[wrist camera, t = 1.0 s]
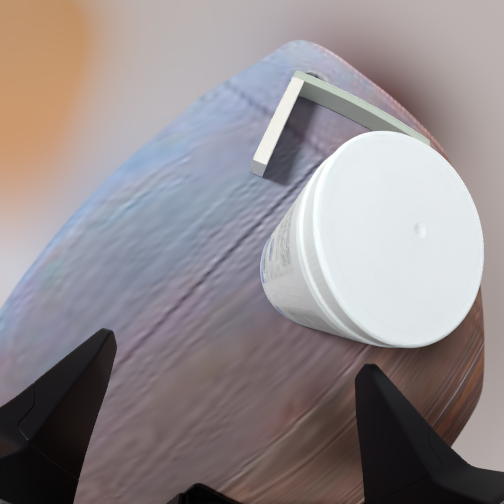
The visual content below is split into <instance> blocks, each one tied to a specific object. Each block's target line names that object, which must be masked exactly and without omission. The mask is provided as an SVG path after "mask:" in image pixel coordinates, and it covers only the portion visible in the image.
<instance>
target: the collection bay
mask: <svg viewBox="0 0 504 504" xmlns="http://www.w3.org/2000/svg"><path fill="white" fill-rule="evenodd" d="M298 96H301V97H304V98H306V99H308V100H311V101H313V102H315V103H317V104H320V105H322V106H324V107H326V108H329V109H331V110H333V111H335V112H337V113H339V114H341V115H343V116H345V117H347V118H349V119H351V120H353V121H355V122H357V123H359V124H361V125H363V126H365V127H367V128H369V129H370V130H372V131H392V132H397V133H402V134H405V135H408V136H411V137H413V138H415V139H417V140H420V141H421V142H423V143H425V144H426V145H428V146H430V140H428V139H427V138H425V137H424V136H422V135H421V134H419V133H418V132H416V131H415V130H413V129H412V128H410V127H409V126H407V125H405V124H404V123H402V122H401V121H399V120H397V119H396V118H394V117H392V116H391V115H389V114H387V113H385V112H384V111H382V110H380V109H378V108H377V107H375V106H373V105H371V104H369V103H367V102H366V101H364V100H362V99H360V98H358V97H356V96H354V95H352V94H350V93H348V92H346V91H344V90H342V89H340V88H337V87H335V86H333V85H331V84H329V83H326V82H324V81H322V80H320V79H317V78H315V77H313V76H310V75H308V74H305V73H303V72H300V71H298V70H296V72H295V74H294V76H293V78H292V80H291V82H290V84H289V86H288V88H287V90H286V92H285V94H284V96H283V98H282V100H281V102H280V104H279V106H278V108H277V110H276V112H275V114H274V116H273V118H272V120H271V122H270V124H269V126H268V128H267V130H266V133H265V135H264V137H263V139H262V141H261V143H260V145H259V147H258V149H257V151H256V154H255V156H254V158H253V160H252V165H251V169H250V172H251V173H253V174H256V175H258V176H261V177H262V176H263V174H264V172H265V169H266V167H267V165H268V163H269V160H270V158H271V156H272V154H273V151H274V149H275V147H276V144H277V142H278V140H279V138H280V135H281V133H282V131H283V129H284V127H285V124H286V122H287V120H288V118H289V115H290V113H291V111H292V109H293V107H294V104H295V102H296V100H297V98H298Z"/></svg>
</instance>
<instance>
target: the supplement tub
mask: <svg viewBox="0 0 504 504" xmlns="http://www.w3.org/2000/svg"><path fill="white" fill-rule="evenodd" d="M483 263H484V244H483V234H482V229H481V224H480V220H479V216H478V213H477V210H476V207H475V205H474V202H473V200H472V197H471V195H470V193H469V191H468V189H467V188H466V186H465V184H464V182H463V181H462V179H461V178H460V176H459V175H458V174H457V172H456V171H455V170H454V168H453V167H452V166H451V165H450V164H449V163H448V162H447V161H446V160H445V159H444V158H443V157H442V156H441V155H440V154H439V153H438V152H436V151H435V150H434V149H432V148H431V147H430V146H428V145H426V144H425V143H423V142H421V141H420V140H417V139H415V138H413V137H411V136H408V135H405V134H402V133H397V132H392V131H374V132H368V133H364V134H361V135H359V136H356V137H354V138H352V139H350V140H349V141H347V142H346V143H344V144H343V145H342V146H341V147H339V148H338V149H337V150H336V152H335V153H334V154H333V155H331V156H330V157H329V158H327V159H326V160H325V161H324V162H323V163H322V164H321V165H320V166H319V168H318V169H317V170H316V172H315V173H314V175H313V176H312V178H311V179H310V180H309V182H308V183H307V184H306V186H305V187H304V189H303V190H302V192H301V193H300V194H299V196H298V197H297V199H296V200H295V202H294V203H293V204H292V206H291V207H290V209H289V210H288V212H287V213H286V215H285V216H284V218H283V219H282V220H281V222H280V223H279V225H278V226H277V228H276V229H275V231H274V232H273V233H272V235H271V236H270V238H269V239H268V241H267V243H266V245H265V247H264V250H263V253H262V258H261V265H260V274H261V280H262V285H263V288H264V291H265V293H266V295H267V297H268V299H269V301H270V302H271V303H272V305H273V306H274V307H275V308H276V309H277V310H278V311H279V312H280V313H281V314H282V315H283V316H285V317H286V318H288V319H289V320H291V321H293V322H295V323H297V324H300V325H303V326H306V327H309V328H313V329H316V330H320V331H323V332H327V333H330V334H334V335H337V336H340V337H344V338H347V339H351V340H355V341H358V342H362V343H367V344H371V345H375V346H380V347H387V348H399V347H400V348H417V347H423V346H427V345H430V344H432V343H435V342H437V341H439V340H441V339H443V338H444V337H446V336H447V335H448V334H450V333H451V332H452V331H453V330H454V329H456V327H457V326H458V325H459V324H460V323H461V322H462V321H463V319H464V318H465V317H466V315H467V313H468V312H469V310H470V308H471V307H472V305H473V303H474V300H475V298H476V295H477V292H478V289H479V286H480V282H481V277H482V272H483Z"/></svg>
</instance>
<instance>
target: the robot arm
mask: <svg viewBox="0 0 504 504" xmlns="http://www.w3.org/2000/svg"><path fill="white" fill-rule="evenodd" d="M116 351H117V344H116V340H115V336H114V332H113V331H112V330H109V329H105V328H102V329H100V330H99V331H97V332H96V333H95V334H94V335H92V336H91V337H90V338H89V339H87V340H86V341H85V342H83V343H82V344H81V345H80V346H78V347H77V348H76V349H75V350H73V351H72V352H71V353H70V354H68V355H67V356H66V357H65V358H63V359H62V360H61V361H60V362H58V363H57V364H56V365H55V366H53V367H52V368H51V369H50V370H48V371H47V372H46V373H45V374H44V375H42V376H41V377H40V378H39V379H37V380H36V381H35V382H34V383H33V384H31V385H30V386H29V387H28V388H26V389H25V390H24V391H23V392H21V393H20V394H19V395H18V396H16V397H15V398H13V399H12V400H10V401H9V402H8V403H6V404H5V405H3V406H2V407H0V504H73V502H74V498H75V493H76V489H77V485H78V481H79V480H78V479H79V477H80V473H81V469H82V465H83V462H84V458H85V455H86V451H87V448H88V445H89V441H90V438H91V435H92V432H93V429H94V425H95V422H96V419H97V416H98V413H99V410H100V407H101V405H102V402H103V399H104V396H105V393H106V390H107V387H108V383H109V379H110V375H111V371H112V367H113V363H114V359H115V355H116ZM355 398H356V419H357V427H358V435H359V443H360V452H361V461H362V472H363V484H364V498H365V504H504V472H500V471H493V470H487V469H481V468H477V467H474V466H471V465H470V464H468V463H467V462H466V461H465V460H463V459H462V458H461V457H460V456H459V455H458V454H457V453H456V452H455V451H454V450H453V449H452V448H451V447H450V446H449V445H448V444H447V443H446V442H445V441H444V440H443V439H442V438H441V437H440V436H439V435H438V434H437V433H436V432H435V431H434V429H433V428H432V427H431V426H429V424H428V423H427V421H426V420H425V419H424V418H423V417H422V416H421V415H420V413H419V412H418V411H417V410H416V409H415V408H414V407H413V405H412V404H411V403H410V402H409V401H408V400H407V399H406V397H405V396H404V395H403V394H402V393H401V392H400V391H399V390H398V388H397V387H396V386H395V385H394V384H393V383H392V382H391V381H390V379H389V378H388V377H387V376H386V375H385V374H384V373H383V372H382V370H381V369H380V368H379V367H378V366H377V365H376V364H365V365H364V366H363V367H362V369H361V370H360V371H359V373H358V374H357V376H356V378H355ZM197 488H199V489H197ZM167 504H238V503H236V502H234V501H232V500H230V499H227V498H225V497H223V496H221V495H219V494H218V493H216V492H214V491H212V490H210V489H208V488H206V487H204V486H203V485H201V484H194V485H192V486H191V487H190V488H189V489H187V490H186V491H185V492H184V493H179V494H178V495H177V496H175V497H174V498H173V499H172V500H170V501H169V502H168V503H167Z"/></svg>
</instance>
